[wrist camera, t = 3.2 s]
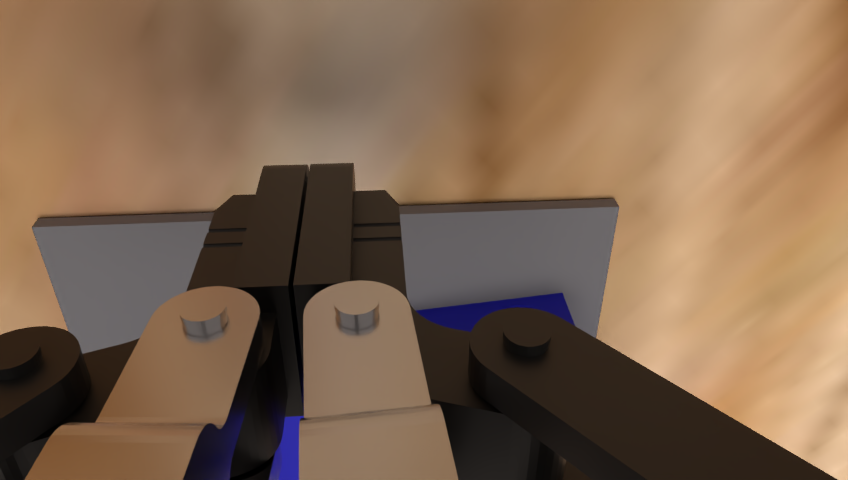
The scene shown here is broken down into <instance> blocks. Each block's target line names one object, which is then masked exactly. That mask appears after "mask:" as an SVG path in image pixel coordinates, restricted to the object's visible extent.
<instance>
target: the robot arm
mask: <svg viewBox="0 0 848 480" xmlns="http://www.w3.org/2000/svg"><path fill="white" fill-rule="evenodd" d="M208 230H209V233H207V235H206V237H205V240H204V243H203V248H202V249H201V251H200V254H199V257H198V260H197V263H196V265H195V268H194V271H193V274H192V277H191V279H190V282H189V285H188V288H187V291H186V292H184V293H181V294H179V295H177V296H175V297H173V298H171V299H169V300H168V301H166V302H165V303H164V304H162V305H161V306H160V307H159V308H158V309H157V310H156V311H155V312H154V313H153V315H152V316H151V318H150V320H149V322H148V324H147V326H146V328H145V329H144V331H143V333H142V335H141V337H140V338H138V339H136V340H133V341H130V342H127V343H123V344H120V345H116V346H112V347H108V348H104V349H100V350H96V351H92V352H88V353H84V354H82V351H81V348H80V345H79V342H78V340H77V339H76V337H75V336H74V335H73V334H71V333H70V332H68V331H66V330H64V329H60V328H56V327H47V326H43V327H29V328H23V329H18V330H14V331H11V332H7V333H4V334H2V335H0V480H278V479H279V475H280V470H281V465H282V452H281V446H280V443H281V440H282V436H283V429H284V421H285V417H295V416H304V418H300V423H299V480H837V479H835V478H834V477H832V476H830V475H829V474H827V473H825V472H824V471H822V470H820V469H818V468H817V467H815V466H813V465H812V464H810V463H808V462H806V461H805V460H803V459H801V458H800V457H798V456H796V455H794V454H793V453H791V452H789V451H788V450H786V449H784V448H782V447H781V446H779V445H777V444H776V443H774V442H772V441H771V440H769V439H767V438H765V437H764V436H762V435H760V434H759V433H757V432H755V431H753V430H752V429H750V428H748V427H747V426H745V425H743V424H741V423H740V422H738V421H736V420H735V419H733V418H731V417H730V416H728V415H726V414H724V413H723V412H721V411H719V410H718V409H716V408H714V407H712V406H711V405H709V404H707V403H706V402H704V401H702V400H700V399H699V398H697V397H695V396H694V395H692V394H690V393H689V392H687V391H685V390H683V389H682V388H680V387H678V386H677V385H675V384H673V383H671V382H670V381H668V380H666V379H665V378H663V377H661V376H659V375H658V374H656V373H654V372H653V371H651V370H649V369H647V368H646V367H644V366H642V365H641V364H639V363H637V362H636V361H634V360H632V359H630V358H629V357H627V356H625V355H624V354H622V353H620V352H618V351H617V350H615V349H613V348H612V347H610V346H608V345H606V344H605V343H603V342H601V341H600V340H598V339H596V338H595V337H593V336H591V335H589V334H588V333H586V332H584V331H583V330H581V329H579V328H577V327H576V326H574V325H572V324H571V323H569V322H567V321H565V320H564V319H562V318H560V317H558V316H556V315H554V314H552V313H549V312H546V311H542V310H538V309H533V308H521V307H516V308H507V309H501V310H498V311H495V312H492V313H490V314H488V315H486V316H484V317H483V318H481V319H480V320H479V321H478V322H477V323H476V324H475V325H474V327H473V329H472V330H471V332H469V331H463V330H458V329H452V328H448V327H444V326H441V325H438V324H435V323H433V322H431V321H429V320H427V319H426V318H424V317H423V316H421V315H420V314H419V313H417V312H416V311H415V310H414V308H413V307H412V306H411V305H410V302H409V300H408V298H407V292H406V281H405V269H404V258H403V246H402V235H401V225H400V212H399V205H398V203H397V202H396V201H395V200H394V199H393V198H392V197H391V196H390V195H389V194H388V193H387V192H386V191H385V190H377V191H355V174H354V164H353V163H338V164H311V165H310V171H309V167H308V165H275V166H264V167H263V169H262V173H261V177H260V181H259V184H258V188H257V192H256V195H233V196H232V197H231V198H229V199H228V200H227V201H226V202H225V203H224V204H223V205H221V206H220V207H219V208H218V209H217V210H216V211H215V212H214V215H213V218H212V221H211V223H210V226H209V229H208Z"/></svg>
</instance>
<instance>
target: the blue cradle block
mask: <svg viewBox="0 0 848 480" xmlns="http://www.w3.org/2000/svg"><path fill="white" fill-rule="evenodd" d="M516 307H521V308H533V309H538V310H542V311H546V312H549V313H552V314H554V315H556V316H558V317H560V318H562V319H564V320H565V321H567V322H569V323H571V324H572V325H574V326H575V324H574V321H573V319H572V316H571V314H570V311H569V309H568V306H567V303H566V301H565V298H564V296H563V293H556V294H547V295H539V296H531V297H523V298H514V299H506V300H498V301H490V302H481V303H473V304H465V305H457V306H448V307H440V308H432V309H424V310H415V311H416V312H417V313H419V314H420V315H421V316H423V317H424V318H426V319H427V320H429V321H431V322H433V323H435V324H438V325H441V326H444V327H448V328H452V329H458V330H463V331H469V332H471V330H472V329H473V327H474V325H475V324H476V323H477V322H478V321H479V320H480V319H481V318H483V317H484V316H486V315H488V314H490V313H492V312H495V311H498V310H501V309H507V308H516ZM300 418H304V416H295V417H285V421H284V429H283V436H282V440H281V443H280V446H281V452H282V465H281V470H280V475H279V479H278V480H299V423H300Z"/></svg>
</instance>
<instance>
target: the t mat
mask: <svg viewBox="0 0 848 480" xmlns="http://www.w3.org/2000/svg"><path fill="white" fill-rule="evenodd" d="M618 211H619V206H618V204H617V202H616V201H615V199H592V200H563V201H533V202H504V203H475V204H445V205H416V206H399V212H400V225H401V235H402V246H403V258H404V269H405V281H406V292H407V298H408V300H409V302H410V305H411V306H412V307H413V308H414V310H424V309H432V308H440V307H448V306H457V305H465V304H473V303H481V302H490V301H498V300H506V299H514V298H523V297H531V296H539V295H547V294H556V293H563V296H564V298H565V301H566V303H567V306H568V309H569V311H570V314H571V316H572V319H573V321H574V324H575V326H576V327H577V328H579V329H581V330H583V331H584V332H586V333H588V334H589V335H591V336H593V337H595V338H596V334H597V329H598V323H599V317H600V312H601V306H602V301H603V295H604V289H605V284H606V278H607V273H608V267H609V261H610V256H611V250H612V245H613V239H614V233H615V228H616V222H617V217H618ZM213 215H214V212H211V213H181V214H152V215H123V216H93V217H64V218H38V220H37V221H36V222H35V224H34V225H33V226H32V229H33V232H34V235H35V238H36V241H37V243H38V246H39V249H40V252H41V255H42V257H43V260H44V263H45V266H46V269H47V272H48V274H49V277H50V280H51V283H52V286H53V288H54V291H55V294H56V297H57V300H58V303H59V305H60V308H61V311H62V314H63V317H64V319H65V322H66V325H67V328H68V331H69V332H70V333H71V334H73V335H74V336H75V337H76V339H77V340H78V342H79V345H80V348H81V351H82V354H84V353H88V352H92V351H96V350H100V349H104V348H108V347H112V346H116V345H120V344H123V343H127V342H130V341H133V340H136V339H138V338H140V337H141V335H142V333H143V331H144V329H145V328H146V326H147V324H148V322H149V320H150V318H151V316H152V315H153V313H154V312H155V311H156V310H157V309H158V308H159V307H160V306H161V305H162V304H164V303H165V302H166V301H168V300H169V299H171V298H173V297H175V296H177V295H179V294H181V293H184V292H186V291H187V288H188V285H189V282H190V279H191V277H192V274H193V271H194V268H195V265H196V263H197V260H198V257H199V254H200V251H201V249H202V248H203V243H204V240H205V237H206V235H207V233H209V230H208V229H209V226H210V223H211V221H212V218H213Z"/></svg>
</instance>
